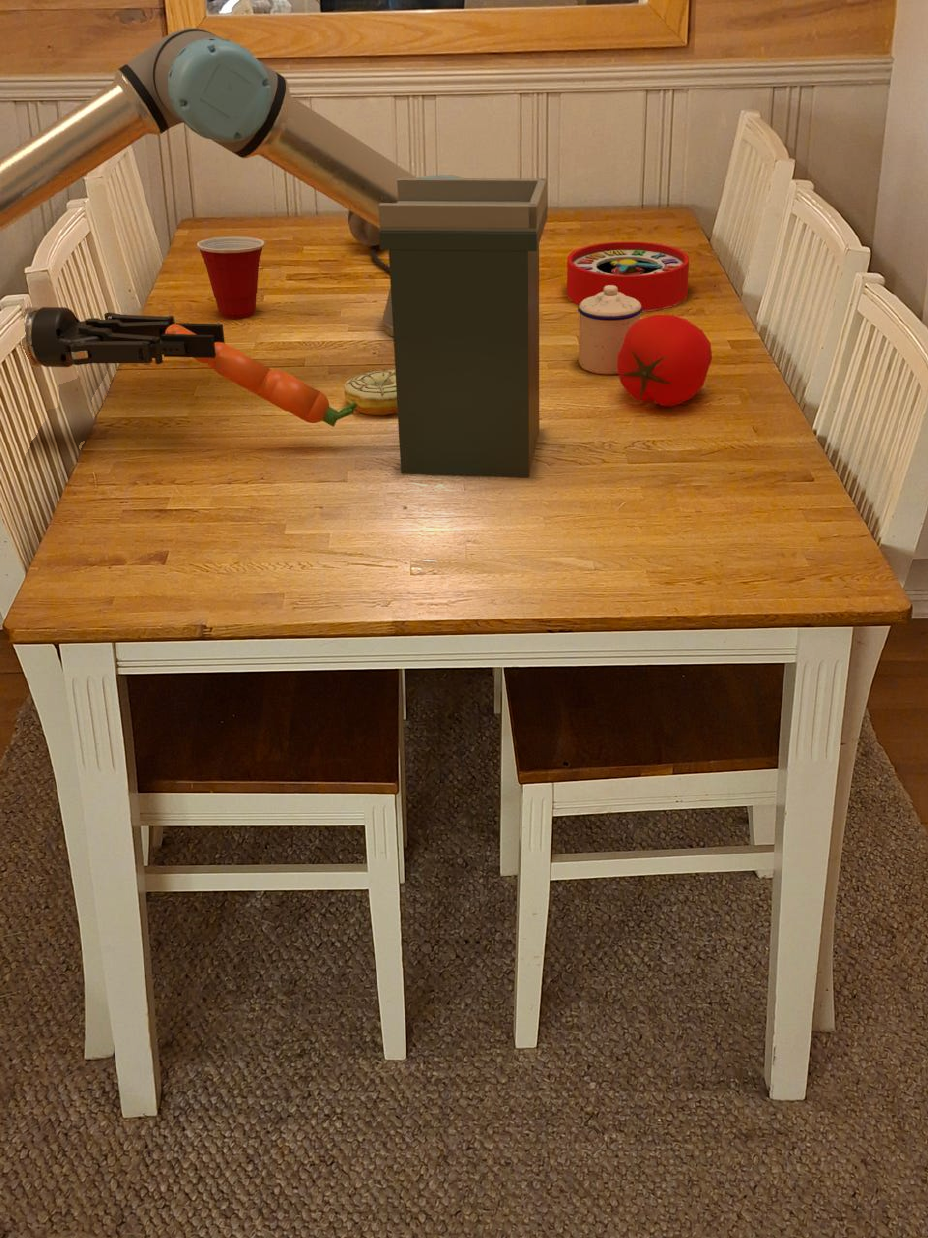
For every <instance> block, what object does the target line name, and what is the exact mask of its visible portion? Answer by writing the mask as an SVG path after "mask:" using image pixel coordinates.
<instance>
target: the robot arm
mask: <svg viewBox="0 0 928 1238" xmlns="http://www.w3.org/2000/svg"><path fill="white" fill-rule="evenodd" d="M113 79H114V80H113V82H112V83H111V84H109V85H107V86H106V87H104V88H103V89H101V90H100V91H98V92H97V93H95V94H94V95H92V96H90V98H88V99H87V100H85V101H84V102H82V103H81V104H79V105H78V106H76V107H75V108H73V109H71V110H70V111H68V112H67V113H66V114H64V115H63V116H61V117H59V118H58V119H57V120H56V121H54V122H52V123H51V124H49V125H48V126H46V127H45V128H43V129H41V130H40V131H39V132H38V133H36V134H34V135H33V136H31V137H30V138H28V139H27V140H26V141H24V142H22V143H21V144H20V145H18V146H16V147H15V148H14V149H12V150H10V151H9V152H7V153H6V154H5V155H3V156H2V157H0V233H1V232H3V231H4V230H6V229H7V228H9V227H11V225H13V224H15V223H16V222H18V221H19V220H20V219H22V218H24V217H25V216H26V215H28V214H29V213H31V212H32V211H34V210H36V209H38V208H39V207H40V206H41V205H44V203H46V202H47V201H48V200H50V199H52V198H53V197H55V196H56V195H58V194H59V193H61V192H62V191H64V190H65V189H67V188H68V187H71V185H74V183H76V182H77V181H79V180H81V179H82V178H83V177H85V176H87V175H88V174H89V173H91V172H92V171H94V170H95V169H96V168H99V166H100V167H101V165H103V164H104V163H105V162H108V160H110V159H112V158H113V157H115V156H116V155H118V154H119V153H121V152H122V151H123V150H125V149H127V148H128V147H130V146H131V145H133V144H134V143H135V142H137V141H139V140H140V139H141V138H143V137H145V136H146V135H154V136H160V135H162V134H163V133H165V132H167V130H170V129H171V128H173V127H175V126H177V125H180V124H183V123H184V125H186V126H187V128H188V129H190V131H192V132H193V133H195V134H196V135H198V136H200V137H202V138H204V139H207V140H211V141H212V142H214V143H216V144H218V145H220V146H221V147H223V148H224V149H226V150H227V151H229V152H231V153H232V154H234V155H236V156H238V157H240V159H248V158H252V157H254V156H255V157H256V156H260V157H261V158H263V159H265V160H267V161H268V162H269V163H271V164H273V165H275V166H276V167H278V168H280V169H281V170H283V171H284V172H286V173H288V174H290V175H291V176H293V177H294V178H296V179H297V180H299V181H301V182H303V183H304V184H306V185H308V186H309V187H311V188H312V189H314V190H316V191H317V192H319V193H320V194H322V195H324V196H325V197H327V198H329V199H330V200H332V201H334V202H335V203H337V204H339V205H340V206H341V207H343V208H345V209H347V210H348V211H349V210H350V211H352V212H353V213H355V214H357V215H358V216H360V217H362V218H363V219H365V220H366V221H368V222H370V223H371V224H373V225H375V226H376V227H378V228H380V226H379V209H378V205H379V204H380V203H397V202H398V187H397V179H398V178H462V177H461V176H459V175H452V174H441V175H440V174H437V175H424V176H415V175H414V174H412V173H411V172H409V171H408V170H406V169H404V168H403V167H401V166H400V165H398V164H397V163H395V162H394V161H392V160H391V159H389V158H388V157H386V156H384V155H382V154H381V153H380V152H378V151H377V150H375V149H374V148H372V147H371V146H369V145H367V144H366V143H365V142H363V141H361V140H360V139H358V138H357V137H355V136H353V135H352V134H351V133H349V132H348V131H346V130H344V129H343V128H341V127H339V126H338V125H337V124H335V123H333V122H332V121H330V120H329V119H327V118H326V117H325V116H323V115H321V114H319V113H318V112H316V111H315V110H313V109H312V108H310V107H309V106H307V105H306V104H304V102H301V101H299V100H298V99H296V98H295V97H294V96H292V95H291V91H290V87H289V82H288V80H287V78H286V77H284V76H283V75H282V74H280V73H279V72H277V71H275V70H274V69H273V68H271V67H270V66H268V65H267V64H265V63H264V62H262V61H261V60H259V59H258V58H257V57H255V56H254V53H252V51H250V50H249V49H248V48H246V47H244V46H243V45H241V44H239V43H237V42H236V41H233V40H230V39H226V38H224V37H222V36H219V35H217V34H215V33H213V32H211V31H209V30H206V29H203V28H197V27H196V28H195V27H193V28H190V27H189V28H188V27H186V28H183V29H179V30H175V31H173V32H170V33H169V34H167V35H165V36H163V37H162V38H160V39H159V40H157V41H156V42H155V43H153V44H152V45H150V46H149V47H147V48H146V49H145V50H143V51H142V52H140V53H139V54H138V55H136V56H135V57H134V58H132V59H131V60H130V61H128V62H127V63H125V64H123V65H122V66H120V67H119V68H117V69H116V70H115V72H114V78H113ZM376 251H377V248H376V246H371V247H370V257H371V259H372V261H373V263H375V264H376V265H377V266H378V267H379V268H381V269H383V270H384V271H386V272H388V273H390V266H389V265H387V264H385V263H384V262H382V260H380V259H379V257H378V256H377V254H376ZM26 307H27V308H26V309H25V312H24V315H23V316H24V325H25V332H26V335H25V337H24V338H23V341H22V346H23V349H24V350H25V353H26V355H27V357H28V359H29V361H30V365H31V366H32V367H31V368H39V367H45V368H71V367H72V366H73V365H74V366H80V365H89V364H151V363H152V362H153V359H154V361H155V362H154V363H155V365H160V364H163V363H164V360H163V357H164V358H165V357H167V358H192V357H202V358H214V357H215V356H216V353H215V344H214V343H215V342H222V343H225V344H226V342H225V341H226V340H225V334H224V333H225V332H224V325H223V323H186V322H185V323H184V322H183V323H182V322H181V323H180V322H175V317H174V315H169V316H159V315H140V314H139V315H138V314H137V315H136V314H121V313H115V312H110V311H109V312H106V313H104V315H103V316H104V319H100V318H98V317H95V318H94V317H93V318H86V319H85V320H82V321H81V320H80V319H78V318H77V316H76V314H75V313H74V312H73V310H71V309H70V308H69V307H61V306H59V307H58V306H42V307H39V308H38V307H37V306H26ZM174 324H177V325H181V326H182V327H184V328H186V329H188V330H190V331H191V332H193V333H195V334H197V335H193V334H165V331H166V329H167V328H168V327H169V326H171V325H174ZM382 326H383V331H384V332H385V333H386V334H387V335H389V336H391V337H393V319H392V301H391V286H390V287H389V291H388V295H387V299H386V303H385V307H384V310H383V316H382ZM393 338H394V337H393Z"/></svg>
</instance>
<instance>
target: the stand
mask: <svg viewBox="0 0 928 1238" xmlns="http://www.w3.org/2000/svg"><path fill="white" fill-rule="evenodd" d="M397 187H398V202H397V203H380V204H379V205H378V209H379V226H380V232H379V242H380V248H379V250H380V251H381V250H382V251H383V250H384V251H385V250H386V251H387V250H388V263H389V265H388V266H389V267H390V272H389V281H390V287H391V301H392V319H393V351H394V352H393V353H394V355H393V356H394V370H395V373H396V391H397V409H398V413H397V423H398V426H397V427H398V442H399V458H400V459H399V461H400V473H401V474H413V475H414V474H415V475H444V476H445V475H446V476H475V477H476V476H479V477H506V478H508V477H509V478H530V474H531V471H532V467H533V462H534V458H535V454H536V449H537V445H538V440H539V436H540V242H541V239H542V236H543V234H544V233H543V232H544V230H545V226H546V224H547V220H548V178H540V177H539V178H537V177H536V178H530V177H528V178H527V177H525V178H524V177H523V178H521V177H515V178H514V177H513V178H512V177H511V178H510V177H502V178H501V177H461V178H398V179H397Z"/></svg>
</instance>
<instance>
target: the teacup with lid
mask: <svg viewBox="0 0 928 1238" xmlns="http://www.w3.org/2000/svg"><path fill="white" fill-rule="evenodd" d="M577 311H578V312H579V339H578V340H579V341H578V342H579V343H578V345H579V347H578V351H579V352H578V359H579V360H578V365H579V366H580V367H581V368H582V369H583V370H585V371H587V372H589V373H593V374H597V375H619V373H618V368H617V362H618V354H619V352H620V350H621V348H622V345H623V342H624V339H625V336H626V334H627V332H628V330H629V328H630V327H631V326H632V325H633V324H634V323H635V322H637V321H638V320H640V319H641V313H642V312H641V311H642V307H641V304H640V302H639V301H638V300H636V299H635V298H632V297H629V296H626V295H624V294H622V293H620V292H618V288H617V287H616V286H614V285H608V286H605V287H604V292H601V293H598V294H597V295H595V296H592V297H588V298H586V299H584V300H583V301H582V302H581V303H580V305H579V306H578V307H577Z"/></svg>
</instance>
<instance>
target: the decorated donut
mask: <svg viewBox="0 0 928 1238" xmlns="http://www.w3.org/2000/svg"><path fill="white" fill-rule="evenodd" d="M344 397H345V400H346V401H347V403H348V405H350V404H351V403H353V402H355V403H356V404H357V406H356V407H355V408H354V409H353V410H356V411H357V412H359V413H362V414H364V415H371V416H380V417H381V416H382V417H383V416H386V415H391V414H398V409H397V391H396V373H395V369H383V370H372V371H368V372H365V373H361V374H358V375H355V376H353V377H352V378H350V379H348V380H347V381H346V382H345V383H344Z"/></svg>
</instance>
